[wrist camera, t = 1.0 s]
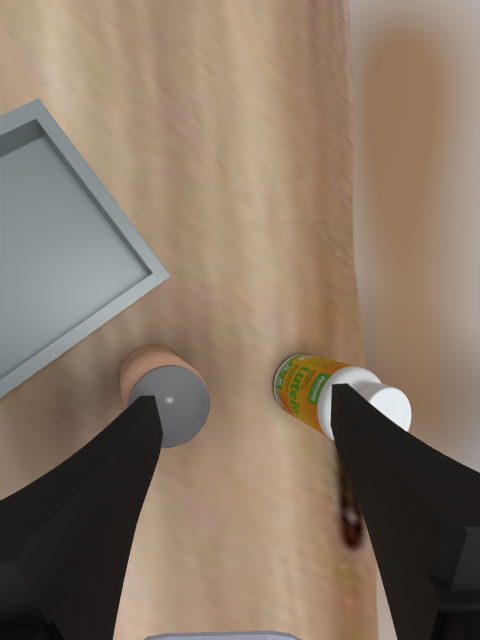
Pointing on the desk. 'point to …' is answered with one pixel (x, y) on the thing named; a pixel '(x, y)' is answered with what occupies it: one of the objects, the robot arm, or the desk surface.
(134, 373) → the shaker
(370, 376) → the supplement bottle
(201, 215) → the desk surface
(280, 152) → the desk surface
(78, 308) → the tray
